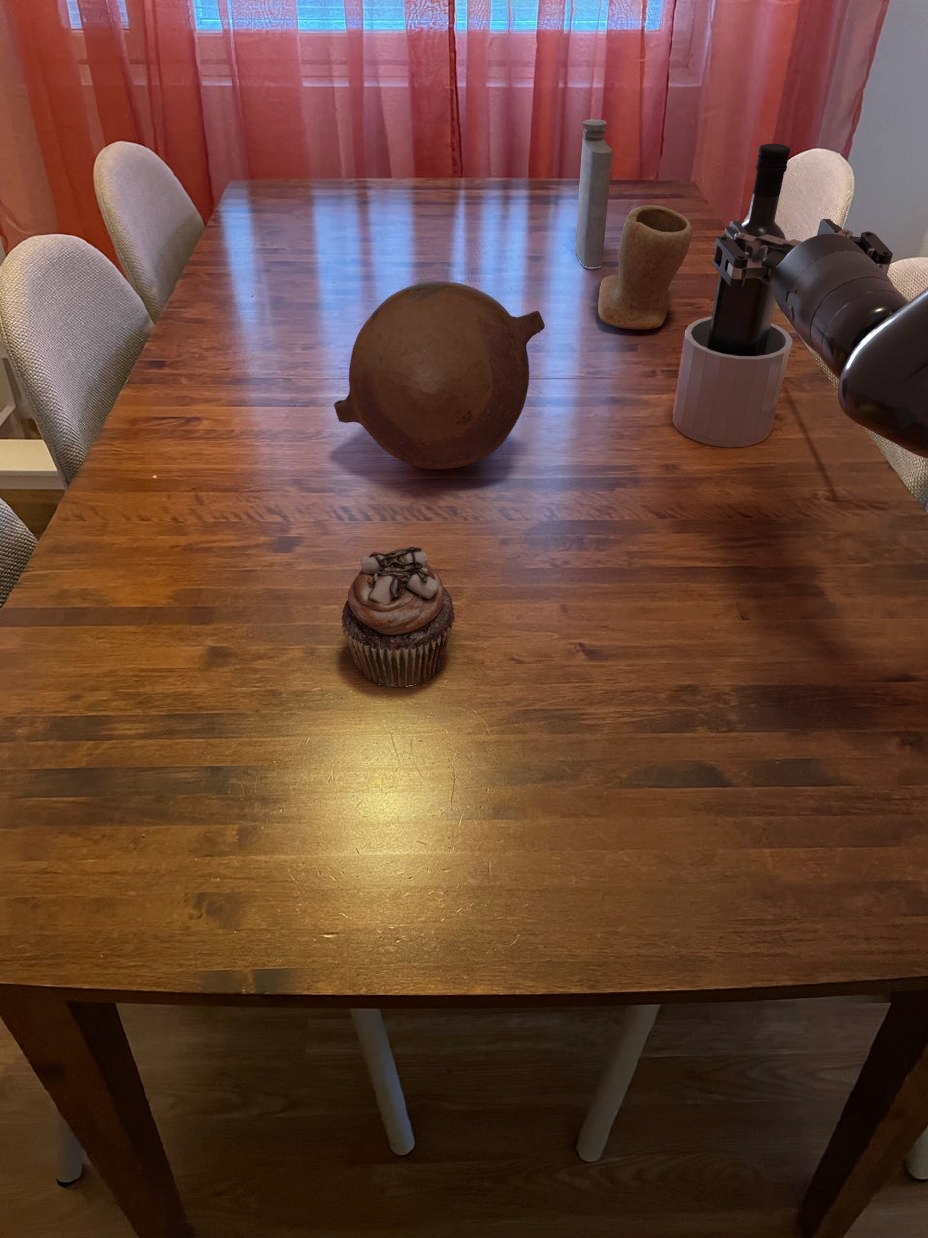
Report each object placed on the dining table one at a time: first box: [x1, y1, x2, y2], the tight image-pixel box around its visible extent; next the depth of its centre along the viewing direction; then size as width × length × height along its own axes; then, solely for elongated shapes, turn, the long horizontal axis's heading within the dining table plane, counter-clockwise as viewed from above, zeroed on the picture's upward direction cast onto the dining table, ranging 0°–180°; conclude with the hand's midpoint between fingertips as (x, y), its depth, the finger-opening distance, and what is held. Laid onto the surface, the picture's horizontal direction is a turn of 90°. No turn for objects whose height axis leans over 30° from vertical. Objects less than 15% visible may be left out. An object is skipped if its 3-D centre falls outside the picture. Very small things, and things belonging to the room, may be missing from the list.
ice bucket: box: [671, 315, 794, 448], centre depth 111 cm, size 12×12×11 cm
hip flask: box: [574, 119, 613, 267], centre depth 152 cm, size 16×4×20 cm, turn 179°
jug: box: [333, 280, 546, 470], centre depth 107 cm, size 20×20×30 cm
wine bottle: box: [707, 143, 791, 356], centre depth 104 cm, size 6×6×30 cm
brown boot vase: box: [597, 204, 693, 331], centre depth 134 cm, size 15×12×15 cm
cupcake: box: [340, 546, 456, 688], centre depth 80 cm, size 10×10×10 cm
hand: (776, 230), depth 89 cm, fingers open, 8 cm apart
